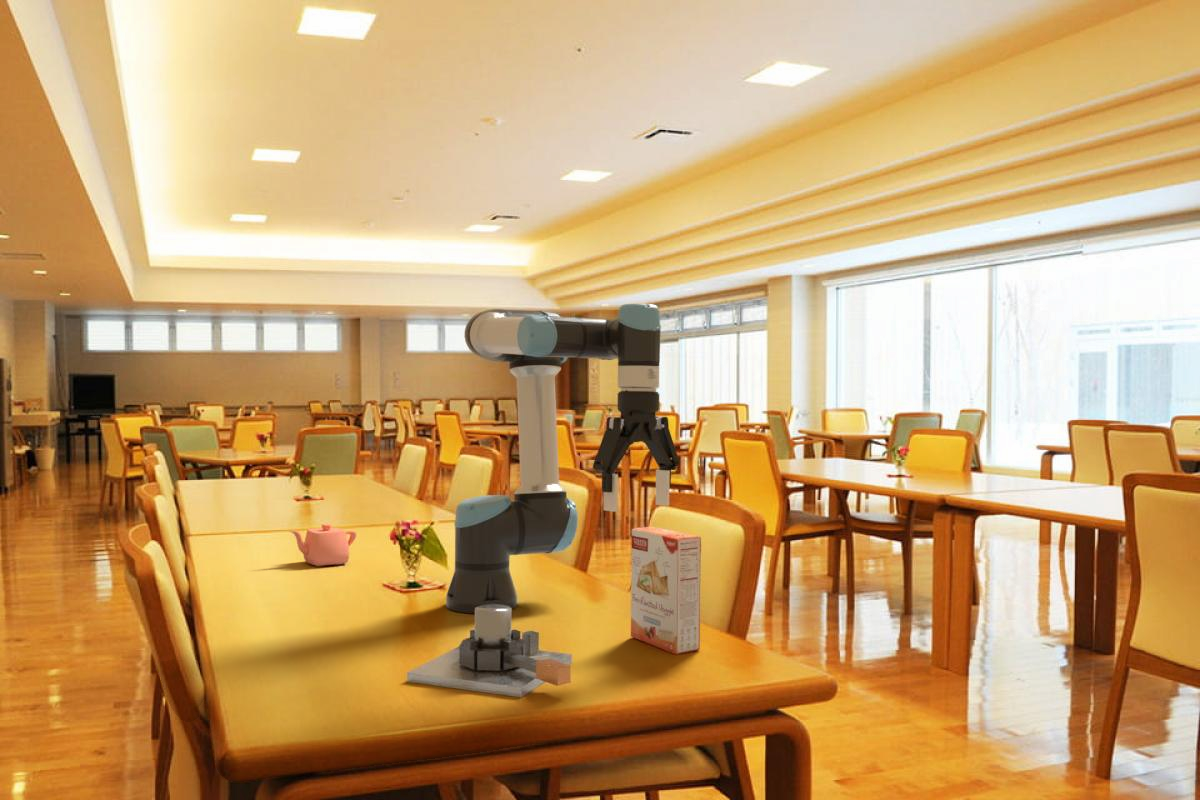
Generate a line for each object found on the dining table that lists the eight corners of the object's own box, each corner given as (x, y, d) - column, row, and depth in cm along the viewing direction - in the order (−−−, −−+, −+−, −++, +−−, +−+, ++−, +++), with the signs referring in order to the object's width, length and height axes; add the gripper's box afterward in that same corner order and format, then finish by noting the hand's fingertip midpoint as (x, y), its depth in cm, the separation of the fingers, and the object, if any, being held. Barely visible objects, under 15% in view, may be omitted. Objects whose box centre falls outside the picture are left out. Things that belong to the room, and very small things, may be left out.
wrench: (448, 660, 158) (448, 634, 158) (497, 649, 165) (498, 624, 165) (538, 692, 142) (538, 664, 141) (588, 678, 149) (589, 651, 149)
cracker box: (628, 638, 181) (630, 527, 180) (653, 634, 184) (655, 525, 184) (674, 655, 169) (676, 537, 169) (701, 651, 172) (702, 535, 172)
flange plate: (407, 681, 152) (407, 615, 152) (467, 650, 171) (468, 591, 170) (521, 697, 145) (522, 628, 145) (571, 662, 164) (572, 601, 163)
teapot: (363, 564, 252) (364, 524, 252) (295, 570, 242) (295, 529, 242) (348, 557, 262) (349, 519, 262) (282, 563, 252) (282, 524, 252)
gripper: (603, 389, 161) (602, 515, 161) (699, 391, 178) (697, 504, 178) (573, 389, 166) (572, 511, 166) (668, 390, 184) (667, 501, 184)
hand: (637, 508), depth 172 cm, fingers open, 13 cm apart
